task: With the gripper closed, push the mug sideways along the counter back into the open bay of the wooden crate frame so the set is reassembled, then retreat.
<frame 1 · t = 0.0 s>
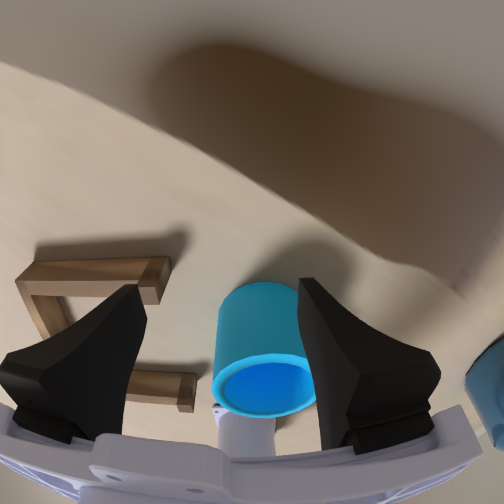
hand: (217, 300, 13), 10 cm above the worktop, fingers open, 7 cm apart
mug: (279, 325, 27), on the worktop
wooden crate frame: (114, 328, 26), on the worktop
wine bottle: (490, 360, 34), on the worktop
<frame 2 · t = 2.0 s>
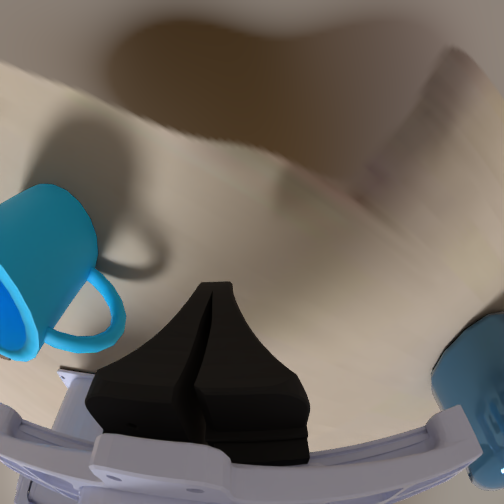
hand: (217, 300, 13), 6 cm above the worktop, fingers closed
mug: (72, 250, 18), on the worktop
wine bottle: (471, 350, 25), on the worktop
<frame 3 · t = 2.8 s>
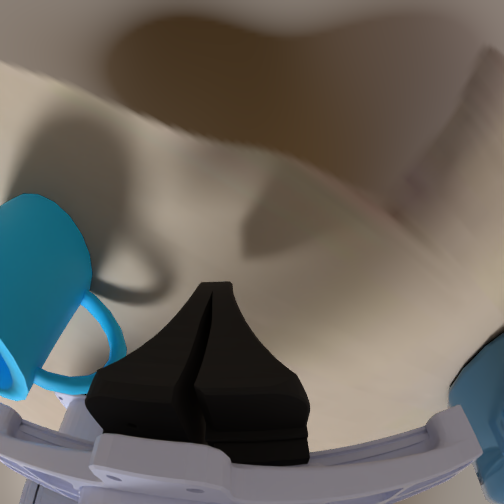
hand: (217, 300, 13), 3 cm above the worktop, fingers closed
mug: (64, 269, 15), on the worktop
wine bottle: (488, 364, 23), on the worktop
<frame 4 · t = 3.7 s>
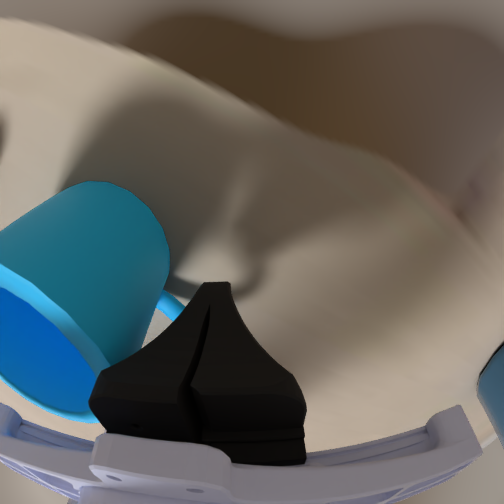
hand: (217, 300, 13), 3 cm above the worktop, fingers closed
mug: (130, 268, 15), on the worktop, touching gripper
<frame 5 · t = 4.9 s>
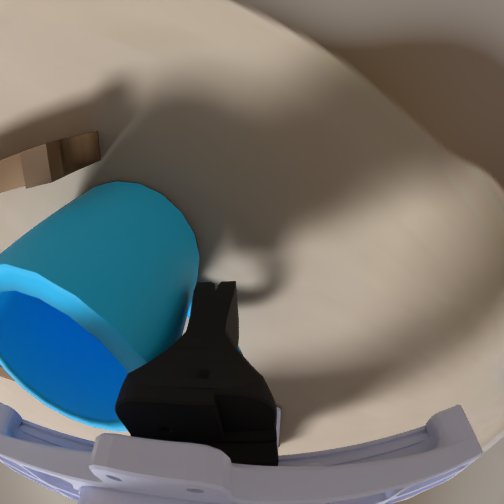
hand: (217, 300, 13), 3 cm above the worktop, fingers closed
mug: (156, 271, 15), on the worktop, touching gripper
wooden crate frame: (33, 276, 15), on the worktop
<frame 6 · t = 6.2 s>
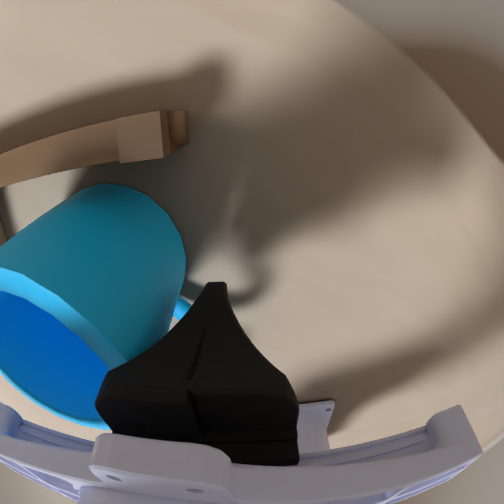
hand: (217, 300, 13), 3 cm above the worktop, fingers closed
mug: (144, 272, 15), on the worktop, touching gripper
wooden crate frame: (81, 272, 15), on the worktop
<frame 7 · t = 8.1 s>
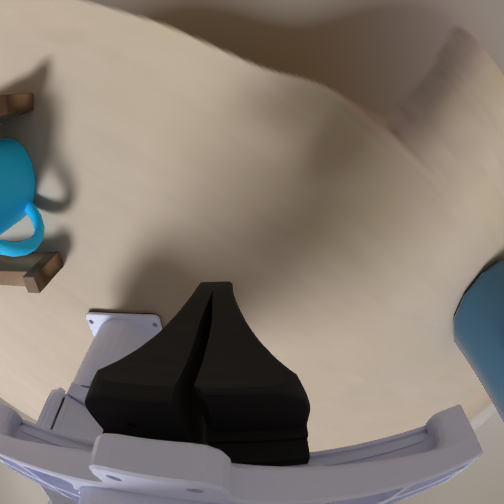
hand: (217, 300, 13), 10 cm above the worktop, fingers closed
mug: (19, 190, 19), on the worktop
wine bottle: (486, 300, 27), on the worktop
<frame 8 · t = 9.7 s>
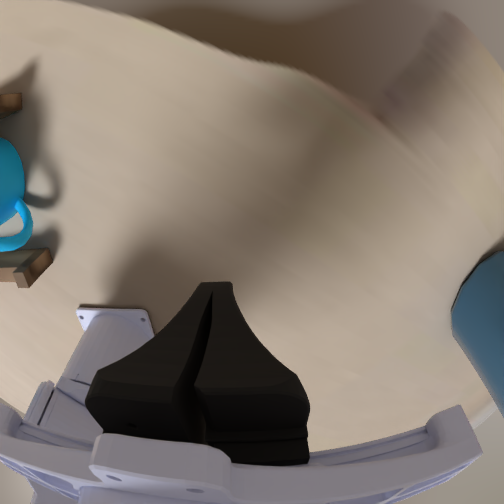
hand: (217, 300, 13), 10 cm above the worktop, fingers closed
mug: (10, 188, 19), on the worktop
wine bottle: (485, 293, 26), on the worktop
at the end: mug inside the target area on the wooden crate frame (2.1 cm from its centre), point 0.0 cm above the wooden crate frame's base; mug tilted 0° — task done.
